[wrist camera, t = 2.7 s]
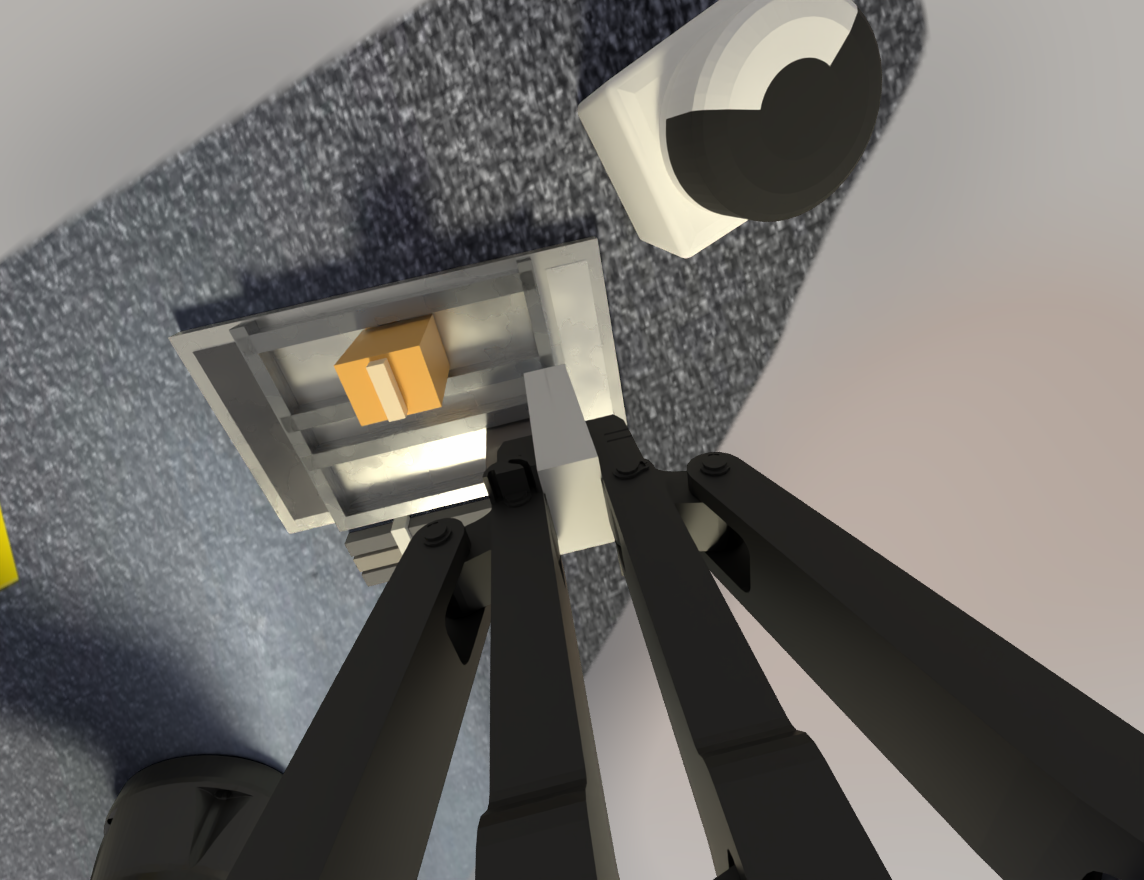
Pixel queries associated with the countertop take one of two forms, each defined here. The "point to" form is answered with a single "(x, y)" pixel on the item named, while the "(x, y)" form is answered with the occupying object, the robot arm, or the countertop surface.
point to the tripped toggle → (395, 370)
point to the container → (738, 118)
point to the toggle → (504, 437)
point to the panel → (421, 440)
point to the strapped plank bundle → (400, 539)
